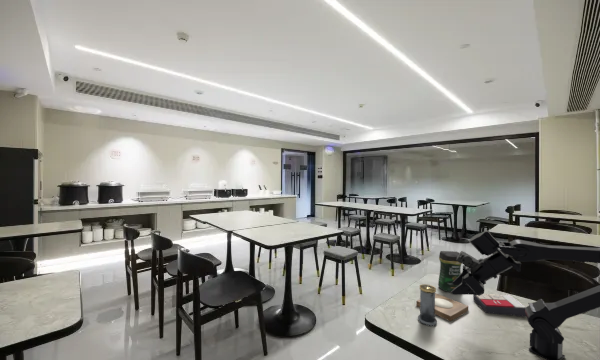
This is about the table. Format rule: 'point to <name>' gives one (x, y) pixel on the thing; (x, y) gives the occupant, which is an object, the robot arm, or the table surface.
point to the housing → (427, 305)
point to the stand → (447, 307)
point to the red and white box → (500, 304)
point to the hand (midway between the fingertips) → (452, 288)
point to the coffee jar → (448, 270)
